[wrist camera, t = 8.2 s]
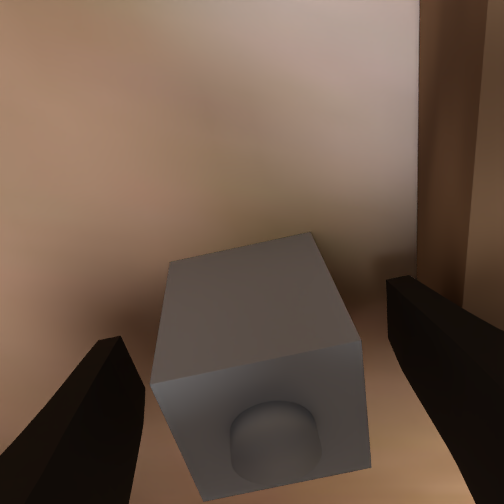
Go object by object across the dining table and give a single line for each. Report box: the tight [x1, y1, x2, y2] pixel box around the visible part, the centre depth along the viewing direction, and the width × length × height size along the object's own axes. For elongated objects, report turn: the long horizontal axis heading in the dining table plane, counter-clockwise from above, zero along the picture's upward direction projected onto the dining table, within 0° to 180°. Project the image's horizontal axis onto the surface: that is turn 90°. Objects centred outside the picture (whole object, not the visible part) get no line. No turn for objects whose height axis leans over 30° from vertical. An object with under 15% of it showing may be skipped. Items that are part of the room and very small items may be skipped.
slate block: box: [150, 232, 372, 502], centre depth 10 cm, size 4×4×5 cm
